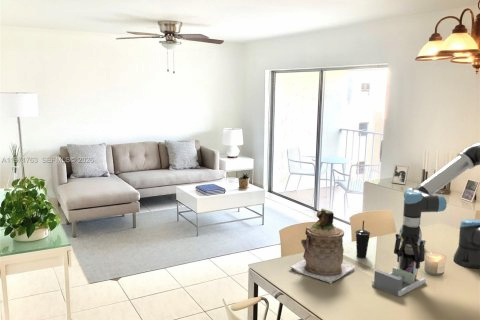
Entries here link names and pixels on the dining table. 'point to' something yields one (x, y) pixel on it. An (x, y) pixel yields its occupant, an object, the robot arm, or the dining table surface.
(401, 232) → the decorative egg
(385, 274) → the pusher lane
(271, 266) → the dining table surface
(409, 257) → the supplement container
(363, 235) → the drinking cup
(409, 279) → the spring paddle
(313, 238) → the cookie jar
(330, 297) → the dining table surface
